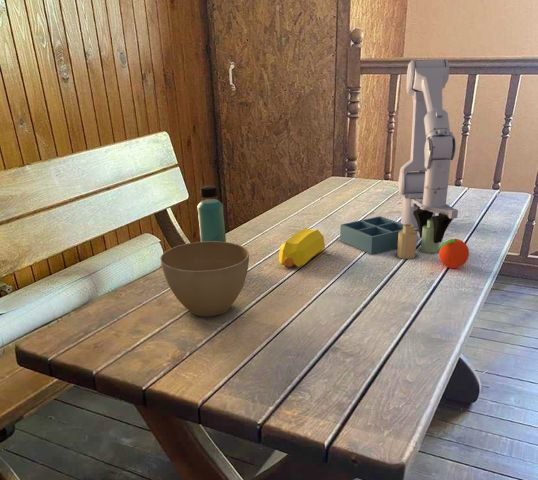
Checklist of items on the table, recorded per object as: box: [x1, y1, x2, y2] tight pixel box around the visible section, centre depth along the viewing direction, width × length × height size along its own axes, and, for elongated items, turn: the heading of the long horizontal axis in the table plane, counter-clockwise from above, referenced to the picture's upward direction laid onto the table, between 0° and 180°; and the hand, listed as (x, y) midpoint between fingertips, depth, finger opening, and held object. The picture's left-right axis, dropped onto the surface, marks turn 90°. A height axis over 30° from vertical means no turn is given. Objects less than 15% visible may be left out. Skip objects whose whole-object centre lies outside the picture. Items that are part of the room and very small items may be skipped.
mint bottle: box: [420, 219, 440, 254], centre depth 150 cm, size 4×5×8 cm
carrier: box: [339, 215, 404, 255], centre depth 158 cm, size 14×14×5 cm
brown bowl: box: [160, 241, 250, 317], centre depth 122 cm, size 18×18×12 cm
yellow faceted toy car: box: [278, 227, 326, 269], centre depth 148 cm, size 18×7×8 cm
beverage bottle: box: [196, 185, 227, 242], centre depth 142 cm, size 6×7×20 cm
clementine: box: [438, 238, 470, 269], centre depth 139 cm, size 8×7×7 cm
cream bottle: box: [396, 224, 418, 260], centre depth 147 cm, size 4×5×8 cm
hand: (430, 239), depth 151 cm, fingers closed on mint bottle, 4 cm apart
